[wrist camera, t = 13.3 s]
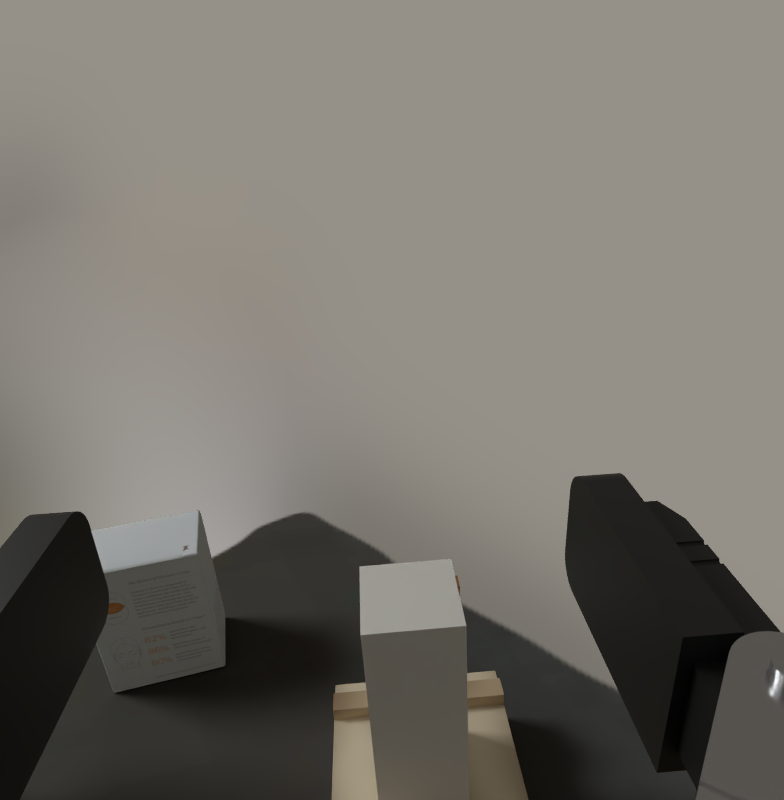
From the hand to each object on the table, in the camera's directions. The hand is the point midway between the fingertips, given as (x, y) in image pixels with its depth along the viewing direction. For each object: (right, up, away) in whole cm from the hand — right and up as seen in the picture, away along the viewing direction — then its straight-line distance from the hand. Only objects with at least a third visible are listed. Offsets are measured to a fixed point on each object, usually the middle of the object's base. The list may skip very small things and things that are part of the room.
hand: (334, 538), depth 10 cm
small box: (-16, -17, +37) cm, 44 cm away
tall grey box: (+3, -17, +23) cm, 29 cm away
